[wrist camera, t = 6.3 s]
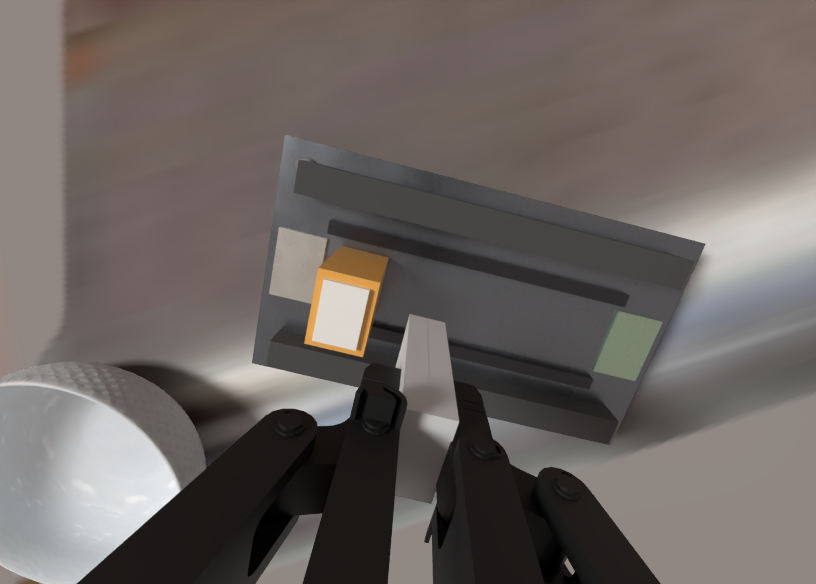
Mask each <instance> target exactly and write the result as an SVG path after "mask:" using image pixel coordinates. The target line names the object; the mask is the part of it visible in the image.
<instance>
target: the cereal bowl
mask: <svg viewBox="0 0 816 584" xmlns="http://www.w3.org/2000/svg"><path fill="white" fill-rule="evenodd" d="M205 462H206V459H205V455H204V449H203V447H202V442H201V440H200V438H199V434H198V432H197V430H196V428H195V426H194V425H193V423H192V421H191V420H190V419H189V416H188V415H187V414H186V413H185V411H184V410H183V409H182V407H181V406H180V405H178V403H177V402H176V401H174V399H173V398H171V397H170V396H169V394H167V393H165V391H164V390H163V389H160V388H159V387H158V386H157V385H155V384H154V383H152V382H149V381H148V380H147V379H144V378H143V377H141V376H138V375H136V374H134V373H132V372H129V371H126V370H123V369H121V368H117V367H113V366H111V365H105V364H99V363H89V362H74V361H73V362H60V363H50V364H46V365H38V366H36V367H32V368H27V369H24V370H21V371H18V372H14V373H11V374H9V375H6V376H3V377H0V565H1V566H3V567H4V568H6V569H8V570H10V571H12V572H14V573H16V574H18V575H21V576H23V577H26V578H29V579H31V580H34V581H37V582H40V583H43V584H77V583H78V582H79V581H80V580H81V579H82V578H83V577H85V576H86V575H87V574H88V573H89V572H90V571H91V570H92V569H94V568H95V567H96V566H97V565H98V564H99V563H100V562H101V561H103V560H104V559H105V558H106V557H107V556H108V555H109V554H110V553H112V552H113V551H114V550H115V549H116V548H117V547H118V546H119V545H121V544H122V543H123V542H124V541H125V540H126V539H127V538H128V537H130V536H131V535H132V534H133V533H134V532H135V531H136V530H137V529H139V528H140V527H141V526H142V525H143V524H144V523H145V522H146V521H148V520H149V519H150V518H151V517H152V516H153V515H154V514H156V513H157V512H158V511H159V510H160V509H161V508H162V507H163V506H165V505H166V504H167V503H168V502H169V501H170V500H171V499H172V498H174V497H175V496H176V495H177V494H178V493H179V492H180V491H181V490H183V489H184V488H185V487H186V486H187V485H188V484H189V483H190V482H192V481H193V480H194V479H195V478H196V477H197V476H198V475H199V474H201V473H202V472H203V471H204V470H205V469H206V463H205Z"/></svg>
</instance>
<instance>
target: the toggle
mask: <svg viewBox="0 0 816 584" xmlns="http://www.w3.org/2000/svg"><path fill="white" fill-rule="evenodd" d="M388 259H389V257H385V256H381V255H377V254H373V253H369V252H365V251H361V250H357V249H353V248H349V247H345V246H341V247H340V248H339V249H338V250H337V251H336V252H334V253H333V254H332V255H331V256H330V257H329V258H328V259H327V260H326V261H325V262H324V263H323V264H322V265H321V266H320V267H318V272H317V277H316V282H315V288H314V293H313V299H312V304H311V309H310V315H309V320H308V326H307V331H306V336H305V342H304V344H308V345H312V346H317V347H321V348H325V349H330V350H334V351H338V352H342V353H347V354H351V355H355V356H360V357H363V355H364V352H365V348H366V345H367V342H368V338H369V335H370V331H371V328H372V325H373V321H374V318H375V314H376V310H377V306H378V301H379V297H380V293H381V289H382V285H383V280H384V276H385V272H386V268H387V264H388Z"/></svg>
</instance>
